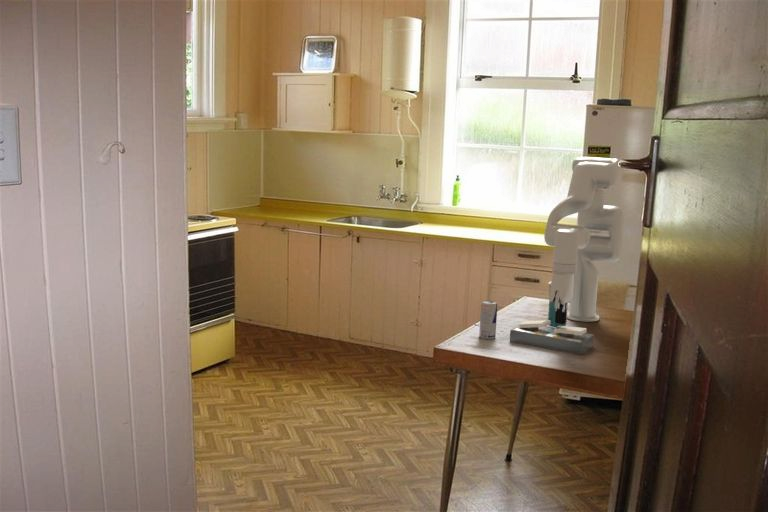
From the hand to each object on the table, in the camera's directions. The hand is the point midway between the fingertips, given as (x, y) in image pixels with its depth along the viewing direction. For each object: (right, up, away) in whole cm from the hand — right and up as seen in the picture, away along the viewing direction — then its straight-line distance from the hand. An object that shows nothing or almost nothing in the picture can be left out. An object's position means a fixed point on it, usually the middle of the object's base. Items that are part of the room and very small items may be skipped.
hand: (560, 322), depth 256 cm
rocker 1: (-8, -1, +4) cm, 9 cm away
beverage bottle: (+3, -4, +21) cm, 21 cm away
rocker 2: (+3, -2, -2) cm, 4 cm away
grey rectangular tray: (-3, -7, +2) cm, 8 cm away
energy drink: (-23, -6, +7) cm, 25 cm away
